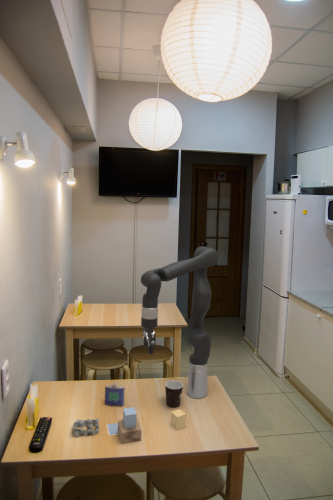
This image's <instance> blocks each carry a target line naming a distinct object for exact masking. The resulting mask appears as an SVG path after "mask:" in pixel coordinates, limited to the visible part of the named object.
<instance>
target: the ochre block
mask: <svg viewBox="0 0 333 500" xmlns="http://www.w3.org/2000/svg"><path fill="white" fill-rule="evenodd" d="M170 414H171V417H170V425H171V426H172V427H173V428H174V429H175V430H176V431H178V430H181V429H185V428H186V418H187V414H186V412H184V411H183V410H182V409H180V408H179V409H176V410H173V411H171V413H170Z"/></svg>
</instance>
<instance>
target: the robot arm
mask: <svg viewBox="0 0 333 500" xmlns="http://www.w3.org/2000/svg"><path fill="white" fill-rule="evenodd" d="M218 260H219V254H218V252H217V250H216V249H215V248H212V247H207V246H201V245H200V246H197V248H196V249H195V251H194V253H193V257H191V258H188V259H184V260H178V261H175V262H172V263H169V264H167V265H165V266H162V267H160V268H155V269H151V270H147V271H146V272H144V273H143V274H142V275H141V277H140V283H141V285H142V286H144V287H145V288H146V292H145V293H143V295H142V299H141V300H142V302H141V304H142V305H141V316H140V317H141V319H140V326H141V327H142V334H141V336H142V339H143V347H144V348H147V347H148V348H147V353H148V355H153V354H154V347H156V341H157V339H156V335H157V334H156V332H155V330H154V329H155V328H157V327H158V319H159V318H158V317H159V309H158V306H159V305H158V304H159V297H160V293H161V287H162V282H170V281H172V280H175V279H177V278H180V277H181V276H184V275H186V274H189V273H191V272H192V273H193V285H192V286H193V287H192V295H191V296H192V297H191V310H190V311H191V313H190V322H189V327H188V331H187V342H188V344H189V345H190V346H191V347H192V348H193V353H191V354H190V355H189V357H188V359H189V360H188V373H187V374H188V375H187V376H188V377H187V378H188V379H187V380H188V381H187V395H188V397H190V398H193V399H203V398H205V397H207V396H208V389H209V388H208V385H209V377H208V376H207V374H208V360H209V358H210V355H211V347H212V346H211V345H212V344H211V343H212V341H211V340H212V339H211V336H210V335H209V334H208V333H206V332H205V331H204V330H203V327H204V319H205V316H206V315H207V314H208V311H209V309H210V307H211V302H212V301H211V300H212V299H211V298H212V290H211V285H210V283H209V279H208V274H207V273H208V268H209V267H213V266H215V264H217V262H218Z"/></svg>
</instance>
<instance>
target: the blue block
mask: <svg viewBox="0 0 333 500" xmlns="http://www.w3.org/2000/svg"><path fill="white" fill-rule="evenodd" d="M137 415H138V413H137V411H136V409H135V407H134V406H132V407H126V408H123V410H122V419H123V424H124V427H125V429H128V428H134V427H136V417H137ZM137 418H138V417H137Z"/></svg>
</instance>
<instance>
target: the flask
mask: <svg viewBox="0 0 333 500" xmlns="http://www.w3.org/2000/svg"><path fill="white" fill-rule="evenodd" d="M104 405H105V406H109V407H123V406H124V405H125V386H124V385H117V382H113V384H107V385H105V388H104Z"/></svg>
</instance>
